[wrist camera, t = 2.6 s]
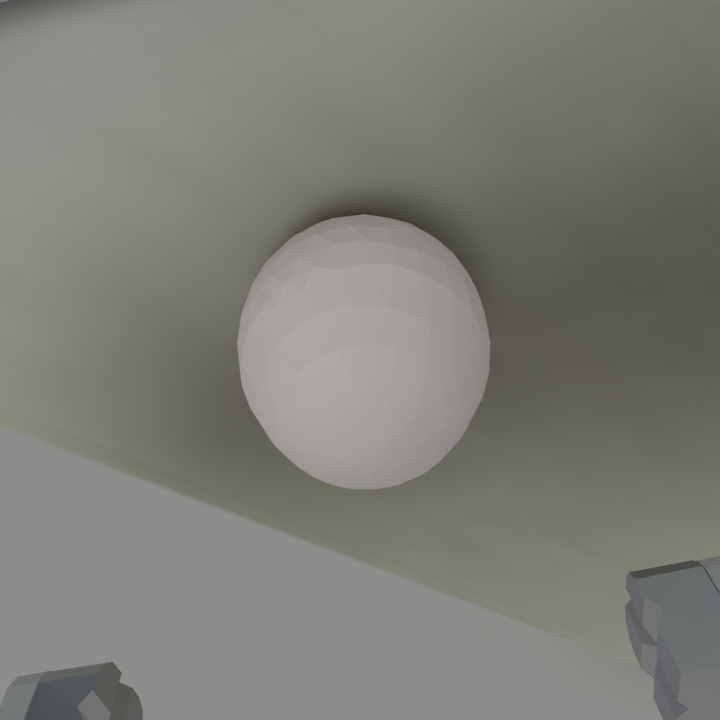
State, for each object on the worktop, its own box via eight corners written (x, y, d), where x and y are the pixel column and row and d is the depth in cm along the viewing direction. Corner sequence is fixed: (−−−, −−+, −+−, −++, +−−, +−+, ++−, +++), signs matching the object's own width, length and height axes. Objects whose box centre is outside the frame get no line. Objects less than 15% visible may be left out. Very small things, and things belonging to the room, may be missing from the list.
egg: (270, 153, 18) (231, 292, 11) (492, 200, 19) (575, 355, 12) (241, 347, 21) (199, 540, 15) (431, 379, 22) (470, 573, 16)
